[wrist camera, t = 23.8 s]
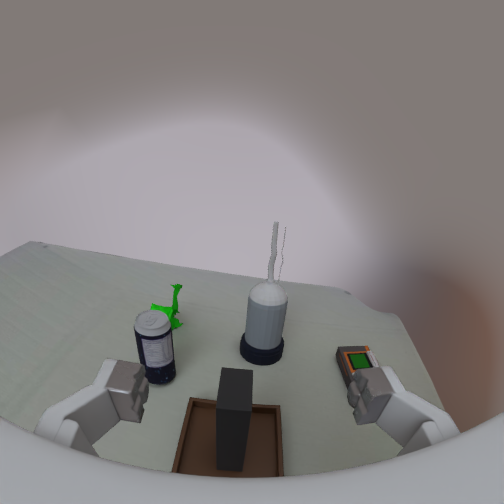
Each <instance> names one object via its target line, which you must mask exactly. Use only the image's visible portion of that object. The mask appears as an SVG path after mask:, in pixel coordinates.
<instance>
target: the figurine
mask: <svg viewBox="0 0 504 504" xmlns="http://www.w3.org/2000/svg"><path fill="white" fill-rule="evenodd" d="M171 286H173V287H174V288H175V290H174V295H173V305H172V307H163V306H158V305H155V304H153V303H152V306H151V309H150V310H158V311H162V312H164V313H165V314H166V315H167V316H168V320H169V321H170V322H171V326H172V330H173V329H174V327H175V328H177V327H180V326H181V325H182V324H183V323H179V320H178V319H176V318H174V314H175V315H176V313H179V312H178V302H177V295H178V293H179V291H180V289H181V288H182V285H180V284H177V285H176V284H175V285H171Z"/></svg>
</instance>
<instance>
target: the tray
mask: <svg viewBox="0 0 504 504" xmlns="http://www.w3.org/2000/svg"><path fill="white" fill-rule="evenodd" d="M216 403H217V401H215V400H207V399H199V398H192V397H190V399H189V403H188V407H187V411H186V414H185V418H184V422H183V426H182V431H181V435H180V439H179V443H178V447H177V451H176V455H175V459H174V464H173V468H172V473H179V474H188V475H198V476H210V477H230V478H264V477H284V471H283V450H282V430H281V412H280V405H260V404H252V413H251V420H250V426H249V433H248V439H247V446H246V452H245V458H244V465H243V471H242V472H238V471H226V470H217V469H216Z"/></svg>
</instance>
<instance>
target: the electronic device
mask: <svg viewBox="0 0 504 504" xmlns="http://www.w3.org/2000/svg"><path fill="white" fill-rule="evenodd" d="M336 358H337V360H338V363H339V366H340V369H341V372H342V375H343V378H344V380H345V383H346V386H347V389H348V387H349V385H350V383H351V382H353V381H354V378H353V375H354V372H355V371H356V370H357V369H365V368H373V367H380V366H379V364H378V362H377V360H376V358H375V356H374V354H373V352H372V351H370V350H369V348H368V346H346V347H338V349H337V352H336Z"/></svg>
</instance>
